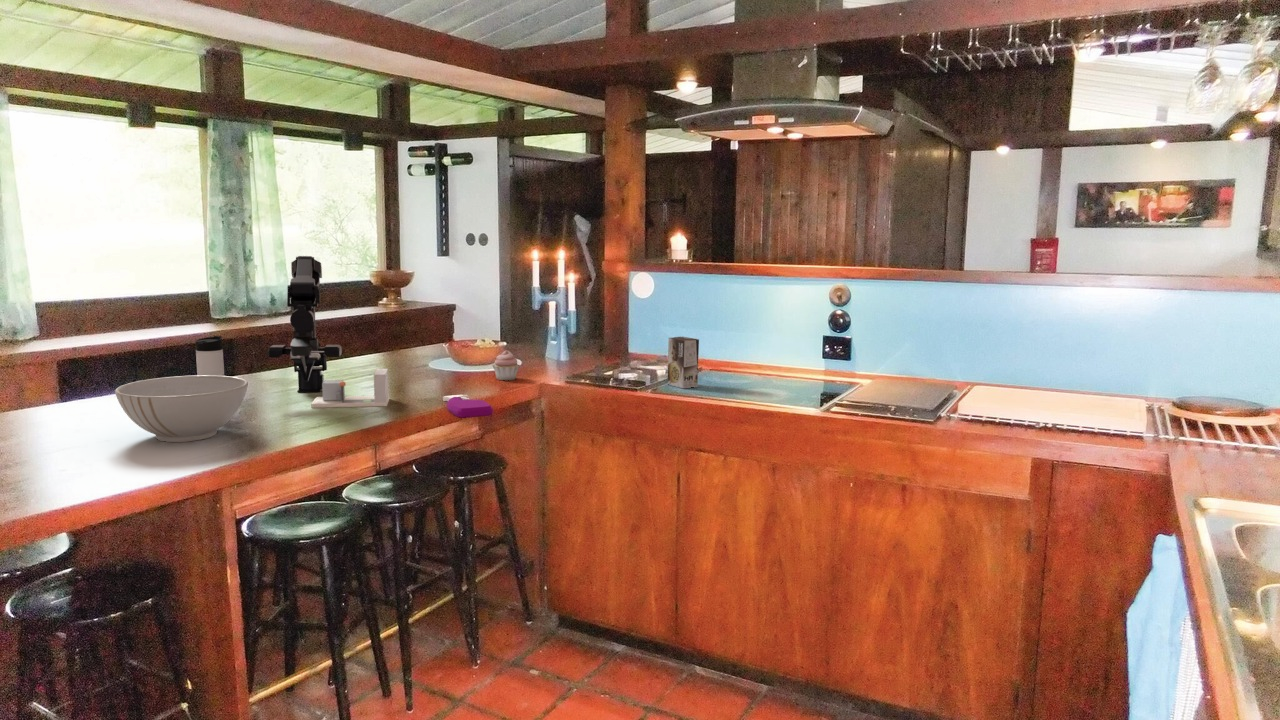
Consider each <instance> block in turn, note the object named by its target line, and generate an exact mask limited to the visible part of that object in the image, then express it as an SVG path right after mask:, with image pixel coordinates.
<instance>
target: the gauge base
mask: <svg viewBox="0 0 1280 720" xmlns="http://www.w3.org/2000/svg"><path fill="white" fill-rule="evenodd" d="M388 373H389V369H388V368H376V370H375V372H374V374H373V390H374V391H373V393H374V394H373V395H349V396H346V395H345V400H344V401H341V400H323V396H316V397H315V398H314V400H313V401H312V402H311V403H310V408H311V409H315V408H316V409H317V408H352V407H354V408H357V407H362V408H363V407H387V406H388V405H389V401H390V395H389V375H388Z"/></svg>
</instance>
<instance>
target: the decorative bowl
mask: <svg viewBox="0 0 1280 720" xmlns="http://www.w3.org/2000/svg"><path fill="white" fill-rule="evenodd" d="M248 388H249V382H248V381H247V380H246V379H244V378H241V377H236V376H227V375H224V376H214V375H197V374H196V375H180V376H179V375H177V376H167V377H157V378H150V379H144V380H137V381H133V382H129V383H126V384H123V385H119V386H118V387H117V388H116V389H115V390H114V393H115V397H116V399H117V401H118V403H119V405H120V407H121V408H122V410H123V412H124V413H125V415H126V416H127V417H128V418H129V419H130V420H131V421H132V422H133V423H134V424H136V426H137V427H139V428H141V429H143V430H144V431H145V432H148V433H150V434H153V435H155V438H157V439H158V440H157V439H156V440H157V441H161V442H164V441H166V443H185V442H195V441H201V440H205V439H208V438H212V437H214V436H215V435H217V433H218V429H220V428H221V427H223V426H224V425H226V424H227V423H228V422H229V421H230V420H231V419H232V418H233V417H234V416H235V415H236V413H237V412H238V411H239V409H240V407H241V406H242V404H243V402H244V400H245V397H246V394H247V390H248Z"/></svg>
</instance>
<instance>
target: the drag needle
mask: <svg viewBox="0 0 1280 720" xmlns="http://www.w3.org/2000/svg"><path fill="white" fill-rule="evenodd" d="M346 383H347V382H345V381H344V380H343V381H342V382H340V386H341V401H344V400H345V396H346V394H345V387H346Z"/></svg>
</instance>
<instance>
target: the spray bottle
mask: <svg viewBox="0 0 1280 720" xmlns="http://www.w3.org/2000/svg"><path fill="white" fill-rule="evenodd" d="M442 400H443V402H447V403H446V408H447V411H448V412H449V413H450V414H452V415H454V416H456V417H458V418H461V419H464V418H465V419H467V418H478V417H480V418H481V417H489V416H492V415H493V414H494V408H493V407H492V405H491V404H490V403H488V402H487V401H485V400H482V399H471V398H469V396H468V394H454V395H453V394H452V395H445V396H442Z"/></svg>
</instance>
